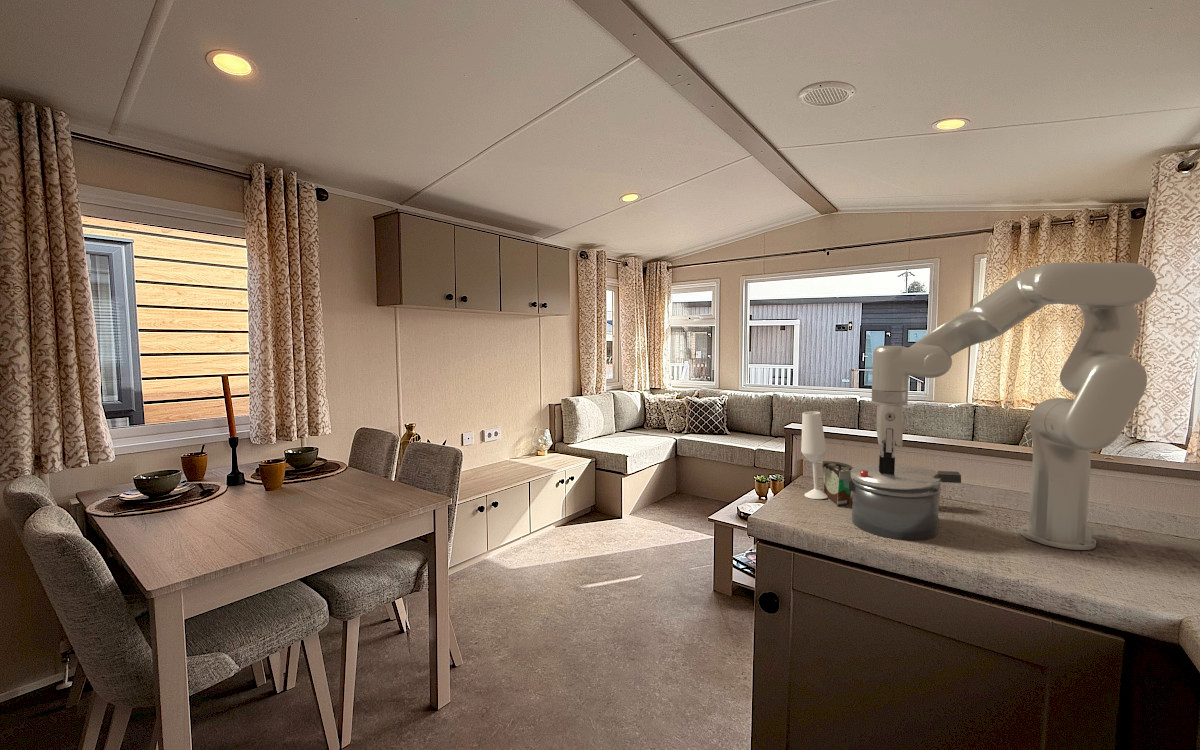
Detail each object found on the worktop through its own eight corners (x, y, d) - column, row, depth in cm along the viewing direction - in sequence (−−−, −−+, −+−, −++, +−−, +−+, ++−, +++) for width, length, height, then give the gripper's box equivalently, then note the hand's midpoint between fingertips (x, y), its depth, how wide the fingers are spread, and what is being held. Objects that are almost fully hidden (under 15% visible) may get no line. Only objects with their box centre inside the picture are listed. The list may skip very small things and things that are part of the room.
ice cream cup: (863, 508, 136) (863, 471, 135) (839, 508, 136) (840, 472, 135) (842, 494, 148) (843, 460, 147) (821, 494, 148) (821, 460, 147)
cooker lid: (952, 470, 125) (952, 461, 125) (968, 493, 108) (967, 482, 108) (850, 466, 135) (850, 458, 135) (850, 486, 118) (850, 476, 118)
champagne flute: (825, 490, 149) (820, 410, 147) (832, 498, 143) (827, 414, 141) (801, 492, 150) (796, 411, 148) (807, 499, 144) (801, 415, 142)
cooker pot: (933, 518, 128) (934, 475, 127) (945, 546, 111) (947, 497, 110) (848, 508, 136) (849, 467, 135) (848, 532, 119) (849, 487, 119)
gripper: (911, 402, 113) (907, 483, 115) (904, 394, 127) (901, 467, 128) (872, 400, 116) (870, 479, 118) (870, 393, 130) (868, 463, 131)
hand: (886, 472), depth 123 cm, fingers closed
